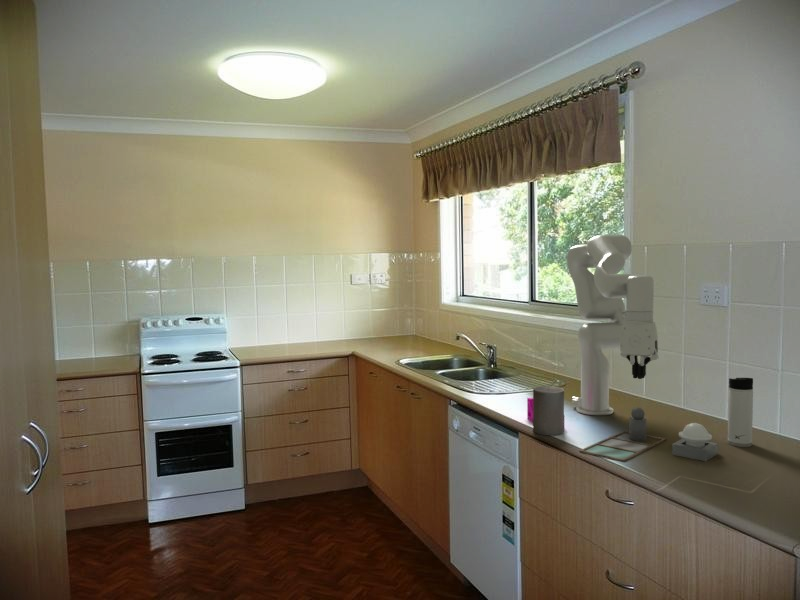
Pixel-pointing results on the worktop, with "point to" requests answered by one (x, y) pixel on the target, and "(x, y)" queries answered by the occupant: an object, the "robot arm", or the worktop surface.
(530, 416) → the toy block
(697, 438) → the dome
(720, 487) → the worktop surface
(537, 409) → the pillar candle
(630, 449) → the brown flat rectangular frame
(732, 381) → the travel mug
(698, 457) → the collar
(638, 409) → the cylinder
